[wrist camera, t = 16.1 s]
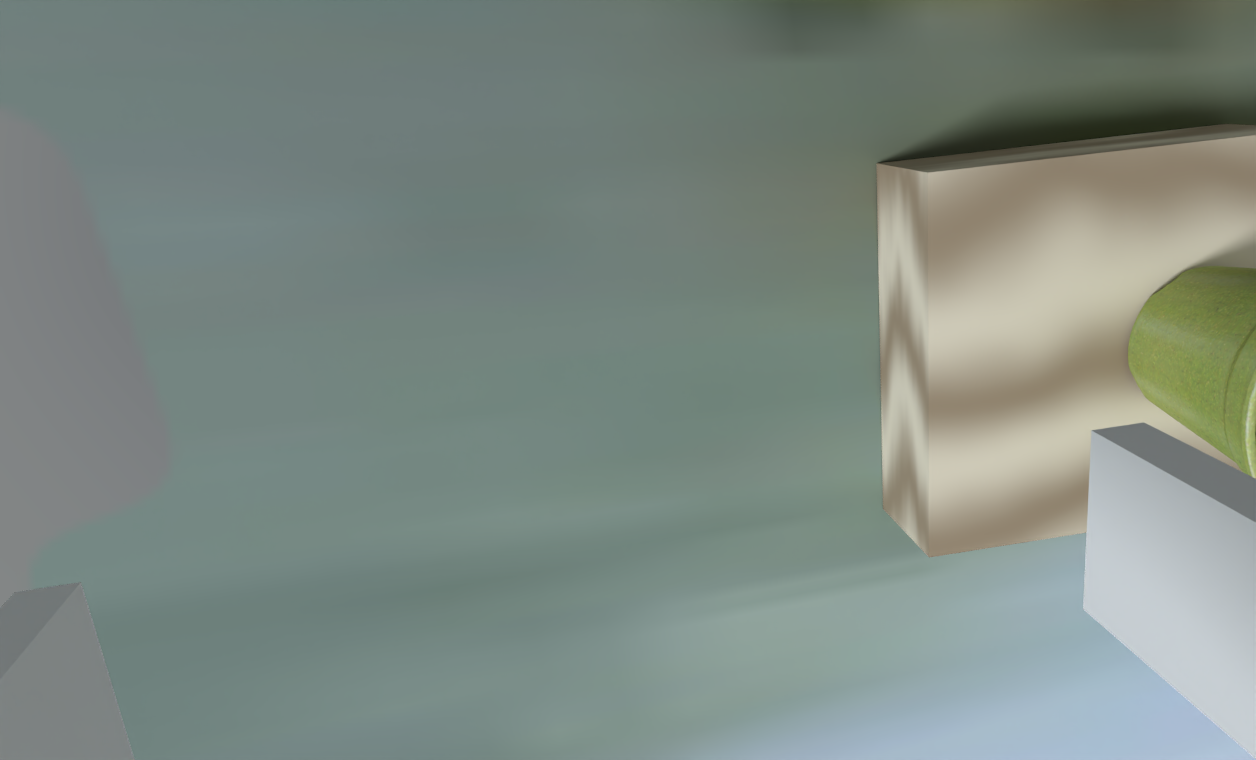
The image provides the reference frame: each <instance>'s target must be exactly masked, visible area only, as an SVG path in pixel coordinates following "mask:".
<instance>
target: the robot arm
mask: <svg viewBox="0 0 1256 760" xmlns="http://www.w3.org/2000/svg"><path fill="white" fill-rule="evenodd" d="M1083 609H1084V610H1085V611H1086V612H1087V613H1088V614H1089V615H1091V616H1092V617H1093V618H1094V619H1095V620H1096V621H1097V622H1099V623H1100V624H1101V625H1102V626H1103V627H1104V628H1105V629H1107V630H1108V631H1109V632H1110V633H1111V634H1112V635H1114V636H1115V637H1116V638H1117V639H1118V640H1119V641H1120V642H1122V643H1123V644H1124V645H1125V646H1126V647H1127V648H1129V649H1130V650H1131V651H1132V652H1133V653H1134V654H1135V655H1137V656H1138V657H1139V658H1140V659H1141V660H1142V661H1143V662H1145V663H1146V664H1147V665H1148V666H1149V667H1150V668H1152V669H1153V670H1154V671H1155V672H1156V673H1157V674H1158V675H1160V676H1161V677H1162V678H1163V679H1164V680H1165V681H1166V682H1168V683H1169V684H1170V685H1171V686H1172V687H1173V688H1175V689H1176V690H1177V691H1178V692H1179V693H1180V694H1181V695H1183V696H1184V697H1185V698H1186V699H1187V700H1188V701H1189V702H1191V703H1192V704H1193V705H1194V706H1195V707H1196V708H1198V709H1199V710H1200V711H1201V712H1202V713H1203V714H1204V715H1206V716H1207V717H1208V718H1209V719H1210V720H1211V721H1212V722H1214V723H1215V724H1216V725H1217V726H1218V727H1219V728H1221V729H1222V730H1223V731H1224V732H1225V733H1226V734H1227V735H1229V736H1230V737H1231V738H1232V739H1233V740H1234V741H1235V742H1237V743H1238V744H1239V745H1240V746H1241V747H1242V748H1244V749H1245V750H1246V751H1247V752H1248V753H1249V754H1250V755H1252V756H1253V757H1254V758H1255V759H1256V479H1255V478H1253V477H1251V476H1249V475H1247V474H1245V473H1243V472H1241V471H1239V470H1237V469H1235V468H1233V467H1231V466H1229V465H1228V464H1226V463H1224V462H1222V461H1220V460H1218V459H1216V458H1214V457H1212V456H1210V455H1208V454H1206V453H1204V452H1202V451H1200V450H1198V449H1196V448H1194V447H1192V446H1190V445H1188V444H1186V443H1184V442H1182V441H1180V440H1178V439H1176V438H1174V437H1172V436H1170V435H1168V434H1166V433H1164V432H1162V431H1160V430H1158V429H1156V428H1154V427H1152V426H1150V425H1148V424H1146V423H1144V422H1143V423H1136V424H1130V425H1123V426H1117V427H1110V428H1103V429H1097V430H1091V450H1090V471H1089V493H1088V515H1087V537H1086V558H1085V580H1084V602H1083ZM0 760H134V756H133V753H132V750H131V746H130V743H129V740H128V736H127V733H126V730H125V726H124V723H123V720H122V717H121V713H120V710H119V707H118V703H117V700H116V697H115V693H114V690H113V687H112V683H111V680H110V677H109V673H108V670H107V667H106V664H105V660H104V657H103V654H102V650H101V647H100V644H99V640H98V637H97V634H96V630H95V627H94V624H93V621H92V617H91V614H90V611H89V607H88V604H87V601H86V597H85V594H84V591H83V587H82V584H81V582H79V583H73V584H66V585H59V586H53V587H46V588H40V589H33V590H26V591H20V592H15V593H14V594H13V595H12V596H11V597H10V598H9V599H8V600H7V601H6V602H5V603H4V604H3V605H2V606H1V608H0Z"/></svg>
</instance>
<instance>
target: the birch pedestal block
mask: <svg viewBox="0 0 1256 760" xmlns="http://www.w3.org/2000/svg"><path fill="white" fill-rule="evenodd" d="M877 211H878V264H879V316H880V368H881V420H882V473H883V509H884V510H885V511H886V512H887V513H888V514H889V516H890V517H891V518H892V519H893V520H894V521H895V522H896V523H897V524H898V525H899V526H900V527H901V528H902V529H903V530H904V531H905V532H906V533H907V534H908V535H909V537H910V538H911V539H912V540H913V541H914V542H915V543H916V544H917V545H918V546H919V547H920V548H921V549H922V550H923V551H924V552H925V553H926V554H927V555H928V557H934V556H941V555H947V554H953V553H960V552H966V551H972V550H979V549H985V548H991V547H998V546H1004V545H1010V544H1017V543H1023V542H1029V541H1036V540H1042V539H1048V538H1055V537H1061V536H1067V535H1074V534H1080V533H1086V532H1087V515H1088V493H1089V471H1090V450H1091V430H1097V429H1103V428H1110V427H1117V426H1123V425H1130V424H1136V423H1143V422H1144V423H1146V424H1148V425H1150V426H1152V427H1154V428H1156V429H1158V430H1160V431H1162V432H1164V433H1166V434H1168V435H1170V436H1172V437H1174V438H1176V439H1178V440H1180V441H1182V442H1184V443H1186V444H1188V445H1190V446H1192V447H1194V448H1196V449H1198V450H1200V451H1202V452H1204V453H1206V454H1208V455H1210V456H1212V457H1214V458H1216V459H1218V460H1220V461H1222V462H1224V463H1226V464H1228V465H1229V466H1231V467H1233V468H1235V469H1237V470H1239V471H1241V472H1242V470H1241V469H1240V468H1239V466H1238V465H1237V463H1235V462H1234V461H1233V460H1231V459H1230V458H1228V457H1227V456H1226V455H1224V454H1223V453H1222V452H1220V451H1219V450H1217V449H1216V448H1215V447H1213V446H1212V445H1210V444H1209V443H1208V442H1206V441H1205V440H1203V439H1202V438H1200V437H1199V436H1198V435H1196V434H1195V433H1193V432H1192V431H1191V430H1189V429H1188V428H1186V427H1185V426H1184V425H1182V424H1181V423H1179V422H1178V421H1177V420H1175V419H1174V418H1172V417H1171V416H1170V415H1168V414H1167V413H1165V412H1164V411H1163V410H1161V409H1160V408H1158V407H1157V406H1156V405H1154V404H1153V403H1151V402H1150V401H1149V400H1148V399H1146V398H1145V396H1144V395H1143V393H1142V391H1141V390H1140V388H1139V387H1138V385H1137V383H1136V381H1135V379H1134V377H1133V375H1132V373H1131V371H1130V368H1129V364H1128V346H1129V340H1130V335H1131V331H1132V328H1133V326H1134V323H1135V321H1136V318H1137V316H1138V314H1139V313H1140V311H1141V309H1142V308H1143V306H1144V305H1145V303H1146V302H1147V300H1148V299H1149V298H1150V297H1151V296H1152V295H1153V294H1155V293H1157V292H1158V291H1160V290H1161V289H1163V288H1164V287H1166V286H1167V285H1168V284H1170V283H1171V282H1172V281H1174V280H1175V279H1176V278H1178V277H1179V276H1180V275H1181V274H1182V273H1183V272H1185V271H1188V270H1190V269H1194V268H1199V267H1205V266H1224V267H1242V268H1256V125H1240V124H1221V125H1212V126H1203V127H1194V128H1186V129H1177V130H1168V131H1159V132H1150V133H1141V134H1132V135H1124V136H1115V137H1106V138H1097V139H1088V140H1079V141H1070V142H1062V143H1053V144H1044V145H1035V146H1026V147H1017V148H1008V149H999V150H991V151H982V152H973V153H964V154H955V155H946V156H937V157H929V158H920V159H911V160H902V161H893V162H884V163H877Z"/></svg>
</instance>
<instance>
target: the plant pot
mask: <svg viewBox="0 0 1256 760" xmlns="http://www.w3.org/2000/svg"><path fill="white" fill-rule="evenodd" d="M1128 364H1129V368H1130V371H1131V373H1132V375H1133V377H1134V379H1135V381H1136V383H1137V385H1138V387H1139V388H1140V390H1141V391H1142V393H1143V395H1144V396H1145V398H1146V399H1148V400H1149V401H1150V402H1151V403H1153V404H1154V405H1156V406H1157V407H1158V408H1160V409H1161V410H1163V411H1164V412H1165V413H1167V414H1168V415H1170V416H1171V417H1172V418H1174V419H1175V420H1177V421H1178V422H1179V423H1181V424H1182V425H1184V426H1185V427H1186V428H1188V429H1189V430H1191V431H1192V432H1193V433H1195V434H1196V435H1198V436H1199V437H1200V438H1202V439H1203V440H1205V441H1206V442H1208V443H1209V444H1210V445H1212V446H1213V447H1215V448H1216V449H1217V450H1219V451H1220V452H1222V453H1223V454H1224V455H1226V456H1227V457H1228V458H1230V459H1231V460H1233V461H1234V462H1235V463H1237V465H1238V466H1239V468H1240V469H1241V470H1242V472H1243V473H1245V474H1247V475H1249V476H1251V477H1253V478H1255V479H1256V268H1242V267H1224V266H1205V267H1199V268H1194V269H1190V270H1188V271H1185V272H1183V273H1182V274H1181V275H1180V276H1179V277H1178V278H1176V279H1175V280H1174V281H1172V282H1171V283H1170V284H1168V285H1167V286H1166V287H1164V288H1163V289H1161V290H1160V291H1158V292H1157V293H1155V294H1153V295H1152V296H1151V297H1150V298H1149V299H1148V300H1147V302H1146V303H1145V305H1144V306H1143V308H1142V309H1141V311H1140V313H1139V314H1138V316H1137V318H1136V321H1135V323H1134V326H1133V328H1132V331H1131V335H1130V340H1129V346H1128Z"/></svg>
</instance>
